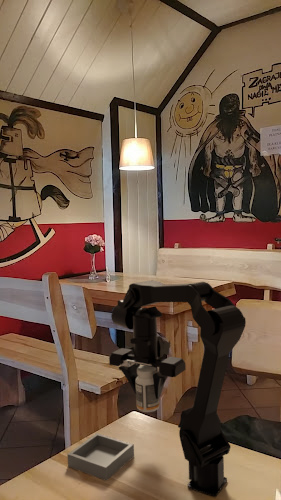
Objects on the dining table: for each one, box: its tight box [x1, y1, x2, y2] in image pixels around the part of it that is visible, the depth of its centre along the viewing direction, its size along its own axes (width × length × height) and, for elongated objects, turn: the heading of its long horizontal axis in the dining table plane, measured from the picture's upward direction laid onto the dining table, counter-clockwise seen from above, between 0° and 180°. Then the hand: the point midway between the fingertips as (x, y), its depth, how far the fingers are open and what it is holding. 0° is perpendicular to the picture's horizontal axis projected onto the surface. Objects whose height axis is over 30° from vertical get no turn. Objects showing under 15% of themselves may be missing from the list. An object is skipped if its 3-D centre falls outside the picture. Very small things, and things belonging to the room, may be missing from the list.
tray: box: [67, 432, 135, 482], centre depth 105 cm, size 11×11×3 cm
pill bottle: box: [135, 365, 160, 413], centre depth 109 cm, size 6×6×10 cm
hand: (147, 395), depth 109 cm, fingers closed on pill bottle, 6 cm apart
